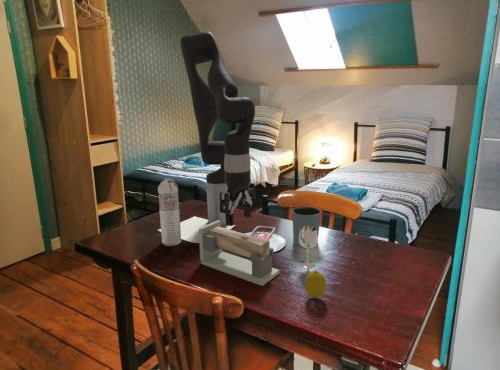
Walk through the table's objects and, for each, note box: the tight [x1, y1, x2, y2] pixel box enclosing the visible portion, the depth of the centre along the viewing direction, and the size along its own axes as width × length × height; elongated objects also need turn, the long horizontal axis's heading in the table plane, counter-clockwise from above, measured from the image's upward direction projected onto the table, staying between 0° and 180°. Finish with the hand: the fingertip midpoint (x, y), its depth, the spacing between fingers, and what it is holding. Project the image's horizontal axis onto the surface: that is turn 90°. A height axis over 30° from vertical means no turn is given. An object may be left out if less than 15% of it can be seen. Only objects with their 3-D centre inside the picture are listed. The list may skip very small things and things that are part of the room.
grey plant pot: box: [291, 205, 322, 248], centre depth 139 cm, size 10×10×12 cm
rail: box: [209, 226, 270, 261], centre depth 120 cm, size 4×20×5 cm, turn 53°
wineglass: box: [299, 226, 319, 269], centre depth 122 cm, size 6×6×12 cm
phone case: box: [249, 225, 276, 240], centre depth 147 cm, size 7×1×15 cm
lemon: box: [304, 270, 327, 299], centre depth 104 cm, size 6×6×8 cm
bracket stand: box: [198, 220, 280, 287], centre depth 120 cm, size 9×24×12 cm, turn 53°
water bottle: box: [157, 174, 182, 247], centre depth 138 cm, size 7×7×25 cm
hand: (238, 220), depth 118 cm, fingers open, 8 cm apart
